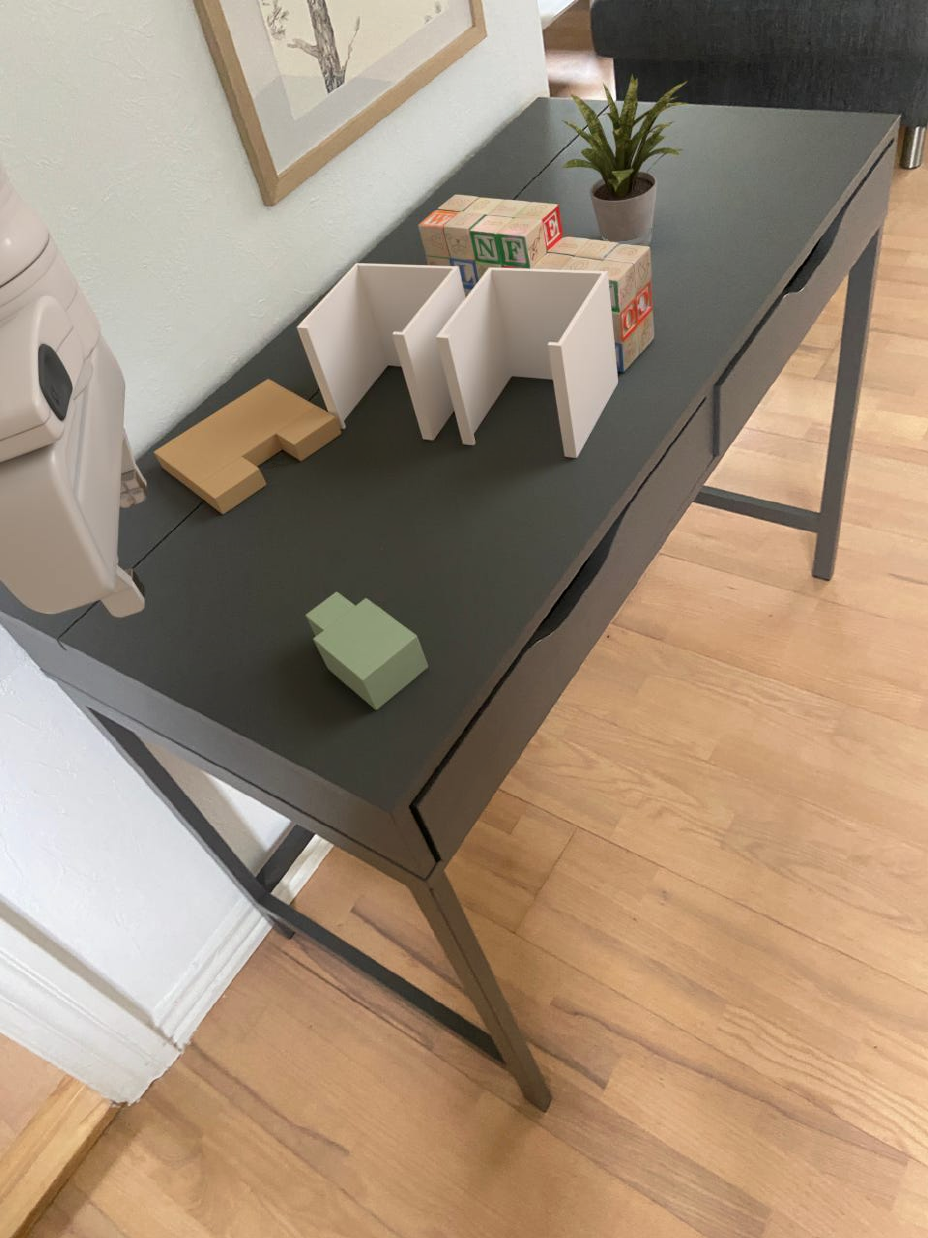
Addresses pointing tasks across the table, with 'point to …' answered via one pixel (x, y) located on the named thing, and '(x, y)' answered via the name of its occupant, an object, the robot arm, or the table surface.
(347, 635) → the sage block
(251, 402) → the sand pad
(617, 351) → the stack of blocks
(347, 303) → the open dividers
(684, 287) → the table surface
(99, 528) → the robot arm
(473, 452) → the table surface
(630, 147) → the house plant
